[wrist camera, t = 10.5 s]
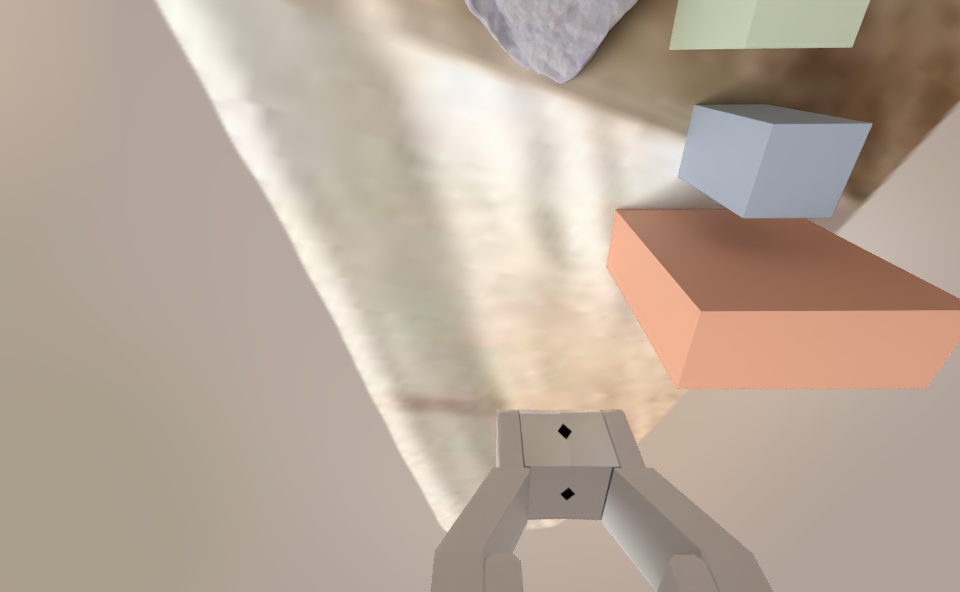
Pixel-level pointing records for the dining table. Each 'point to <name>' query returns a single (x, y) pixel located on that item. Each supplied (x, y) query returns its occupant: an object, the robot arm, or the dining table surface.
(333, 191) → the dining table surface
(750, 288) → the terracotta block
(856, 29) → the sage-green block
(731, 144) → the slate-blue block
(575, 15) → the stone block
